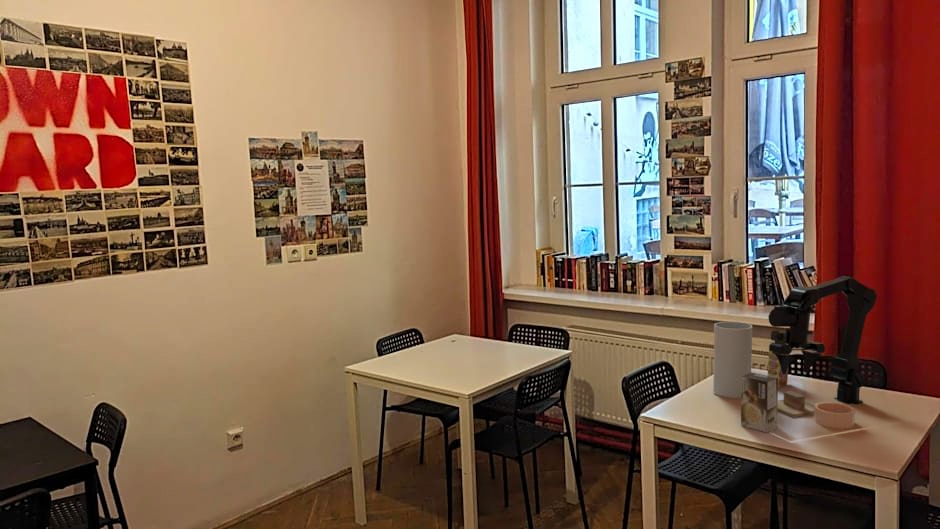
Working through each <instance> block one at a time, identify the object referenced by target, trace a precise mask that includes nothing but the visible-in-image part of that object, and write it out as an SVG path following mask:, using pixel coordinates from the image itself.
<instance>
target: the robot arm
mask: <svg viewBox="0 0 940 529" xmlns="http://www.w3.org/2000/svg"><path fill="white" fill-rule="evenodd" d="M839 293H842V294H844V295H845V296H846V305H847V307H848V310H849V313H848V318H847V322H846V328H845V332H844V336H843V340H842V344H841V350H840V353H839V354H838V355H836V356H832V358H831V363H830V366H829V369H830V374H831V376H832V378H833V382H837V389H836V392H837V393H836V397H834V398H833V399H834V400H836V401H840V403H841V402H842V403H843V404H846V405H851V404H853V405H856V404H862V403H864V401H863V400H862V399H860V388H861V389H862V387H865V385H866V382H867V380H866V379H865V377H864V376H863V375H862V374H861V373H860V370H861V364H860V362H859V361H860V360H859V359H858V353H859V349H860V343H861V340H862V335H863V331H864V327H865V322H866V318H867V315H868V314H869V313H870V312H871V310H873V308H874V307H875V303H876V301H877V297H878V294H877V293H876V291H875V290H874V288H871V287H868V286H867V285H865V284H863V283H861V282H860V281H858V280H857V279H855V278H853V277H851V276H845V275H843V276H839V277H837V278H835V279H831V280H829V281H825V282H821V283H818V284H816V285H812V286H796V287H793V288H791V290H790V292H789V294H787V296H786V298H785V299H784V301H783V302H782V303H781V305H774V306H773V309H771V311H770V312H769V314H768V323H769V324H770V325H771V326H772V327H773V328H780V327H781V328H782V327H785V332H781V331H779V330H772V331H771V333H770V340H771V341H772V342H770V343H769V345H768V352H769V351H772V353H773V354H775V355H776V356H777V358H778V360H779V363H780V367H781V371H782V374H786V372H787V369H788V370H789V366H790V363H791V359H792V356H793V355H792V352H793V351H801V354H802V356H803V364H802V366H803V367H802V371H803V373H804V374H808V372H809V371H810V369H811V368H812V366H813V364H814V363H815V362H816V361H817V359H818V358H819V357H820V356H822V353H823V354H824V353H825V351H826V347H825V344H824V343H821V342H817V341H813V340H809V335H812V330H810V320H811V314H816V313H817V311H816V310H815V309H814V308H813V306H815V305H817V304H818V303H819V302H820V300H822V299H823V298H827V297H830V296H833V295H836V294H839Z"/></svg>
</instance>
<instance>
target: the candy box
mask: <svg viewBox="0 0 940 529" xmlns="http://www.w3.org/2000/svg"><path fill="white" fill-rule="evenodd" d="M788 373H789V368H788V369H787V372H786V374H782V371H781V367H780V363H779V360H778V358H777V356H776V355H775V354H773V353H772V351H769V350H768V363H767V376H771V377H775V378H778V389H779V388H781V387H784V386H787V385H788V379H789V378H788V376H789V374H788Z"/></svg>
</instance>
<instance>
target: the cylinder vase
mask: <svg viewBox="0 0 940 529" xmlns="http://www.w3.org/2000/svg"><path fill="white" fill-rule="evenodd" d="M713 326H714V327H713V329H714V332H713V333H714V334H713V335H714V336H713V338H714V339H713V386H712V387H713V388H712V389H713V390H712V391H713V393H714V394H715V395H716V396H720V397H722V398H728V399H741V376H744V375H745V374H748V373H752V362H753V361H752V357H753V356H752V350H753V348H752V346H753V324H750V323H747V322H740V321H720V322H716V323H714V325H713Z"/></svg>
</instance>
